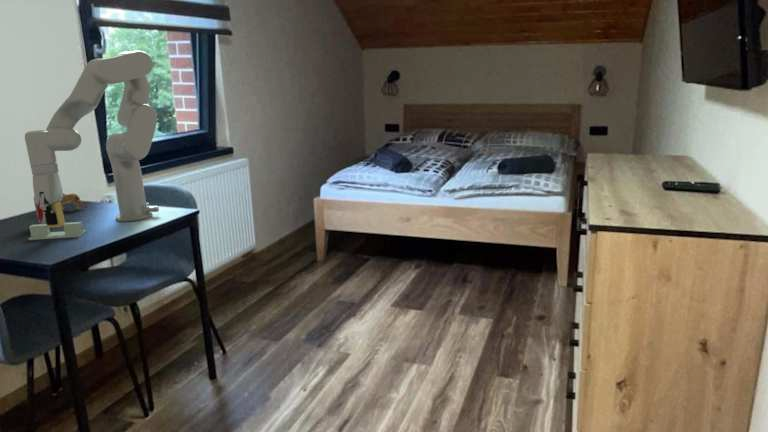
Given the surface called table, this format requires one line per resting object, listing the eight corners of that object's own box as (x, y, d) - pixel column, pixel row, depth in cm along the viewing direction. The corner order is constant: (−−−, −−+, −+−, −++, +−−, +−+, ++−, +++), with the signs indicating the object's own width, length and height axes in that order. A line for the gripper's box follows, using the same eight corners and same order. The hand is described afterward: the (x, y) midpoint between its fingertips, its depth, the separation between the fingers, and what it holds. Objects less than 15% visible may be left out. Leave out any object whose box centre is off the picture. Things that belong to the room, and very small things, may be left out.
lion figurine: (46, 212, 221) (42, 190, 219) (52, 209, 227) (48, 187, 224) (85, 210, 223) (81, 188, 220) (90, 207, 228) (86, 185, 226)
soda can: (51, 226, 201) (44, 194, 198) (34, 226, 202) (27, 194, 199) (65, 221, 207) (59, 189, 204) (49, 221, 209) (42, 189, 206)
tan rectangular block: (52, 224, 190) (47, 197, 188) (65, 223, 191) (59, 196, 188) (47, 227, 186) (41, 199, 184) (59, 227, 187) (54, 199, 184)
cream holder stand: (86, 231, 193) (84, 220, 192) (79, 236, 187) (76, 225, 186) (37, 234, 192) (35, 223, 190) (28, 240, 186) (26, 228, 185)
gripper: (44, 165, 191) (55, 217, 196) (19, 174, 175) (31, 230, 180) (67, 163, 192) (77, 215, 197) (44, 172, 176) (56, 229, 181)
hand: (55, 222), depth 188 cm, fingers closed on tan rectangular block, 3 cm apart
